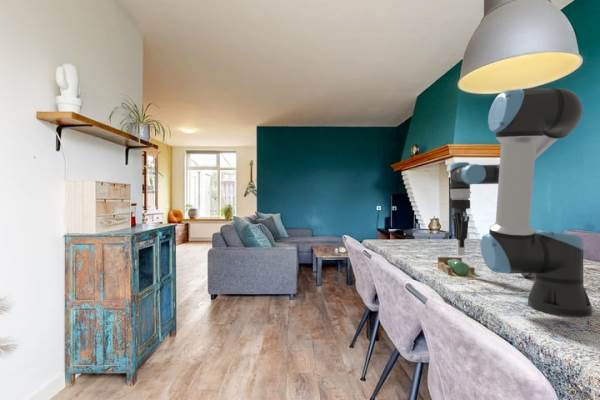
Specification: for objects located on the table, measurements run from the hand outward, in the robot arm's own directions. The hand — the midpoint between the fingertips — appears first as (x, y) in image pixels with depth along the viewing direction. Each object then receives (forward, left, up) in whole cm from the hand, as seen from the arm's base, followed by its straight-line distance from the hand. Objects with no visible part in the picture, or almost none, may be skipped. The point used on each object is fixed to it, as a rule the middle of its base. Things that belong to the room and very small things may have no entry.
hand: (460, 254), depth 141 cm
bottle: (-3, 0, -6) cm, 6 cm away
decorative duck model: (+1, -30, -10) cm, 31 cm away
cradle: (+4, 0, -10) cm, 10 cm away
